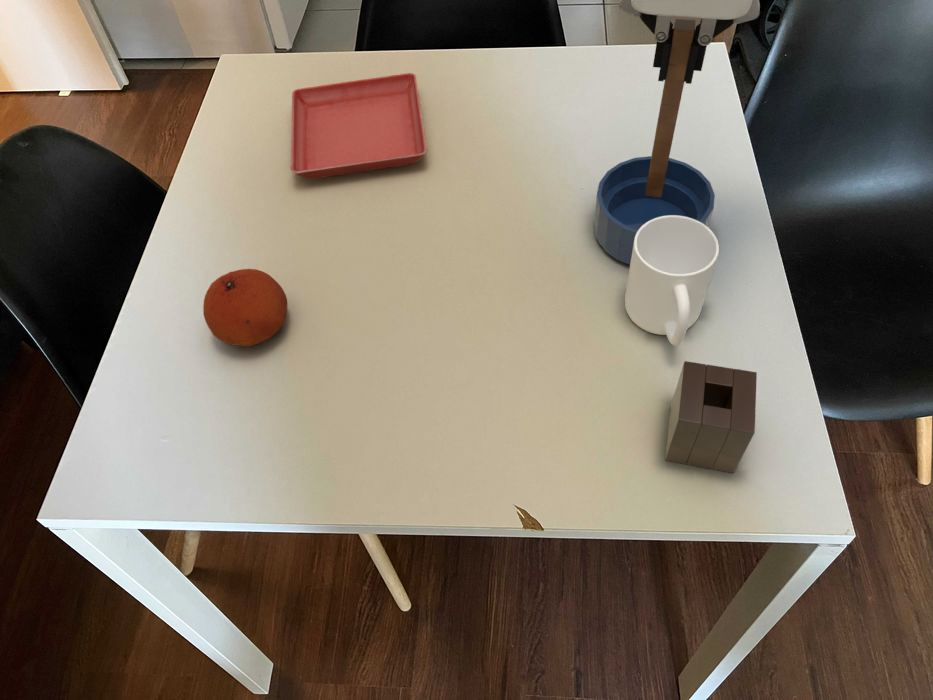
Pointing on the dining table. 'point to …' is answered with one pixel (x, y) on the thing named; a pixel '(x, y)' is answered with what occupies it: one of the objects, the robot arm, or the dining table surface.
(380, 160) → the plant saucer
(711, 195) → the bowl
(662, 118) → the stick
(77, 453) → the dining table surface
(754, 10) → the robot arm
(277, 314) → the fruit
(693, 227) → the cup
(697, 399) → the stand
